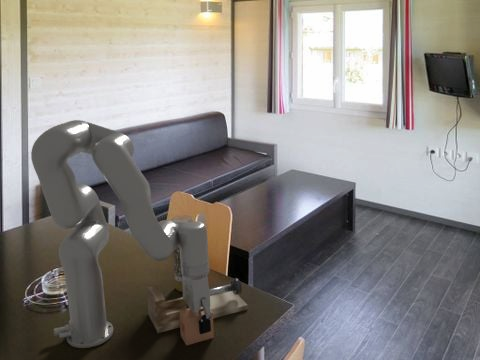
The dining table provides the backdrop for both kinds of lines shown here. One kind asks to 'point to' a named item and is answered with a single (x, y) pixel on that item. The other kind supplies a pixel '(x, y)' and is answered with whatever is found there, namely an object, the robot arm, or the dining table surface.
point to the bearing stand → (168, 311)
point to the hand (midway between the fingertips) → (198, 323)
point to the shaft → (227, 288)
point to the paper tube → (177, 255)
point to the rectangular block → (193, 327)
